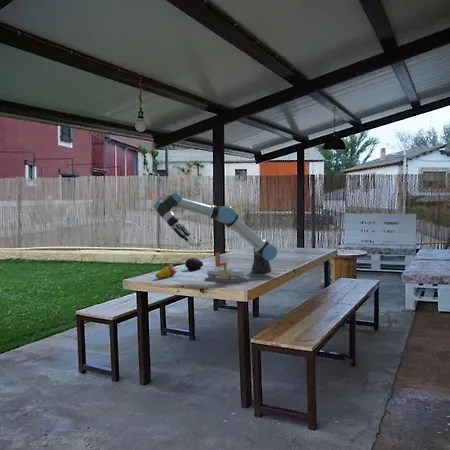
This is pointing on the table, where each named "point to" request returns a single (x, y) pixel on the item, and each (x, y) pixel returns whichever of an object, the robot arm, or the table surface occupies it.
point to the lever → (217, 260)
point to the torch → (166, 272)
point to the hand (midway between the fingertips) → (192, 243)
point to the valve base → (225, 275)
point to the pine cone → (193, 264)
